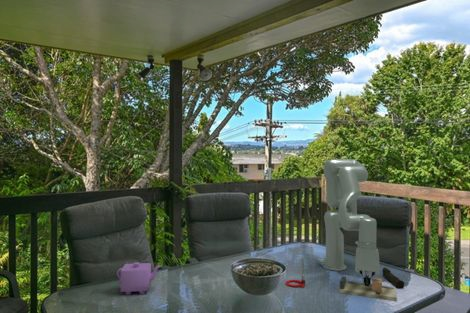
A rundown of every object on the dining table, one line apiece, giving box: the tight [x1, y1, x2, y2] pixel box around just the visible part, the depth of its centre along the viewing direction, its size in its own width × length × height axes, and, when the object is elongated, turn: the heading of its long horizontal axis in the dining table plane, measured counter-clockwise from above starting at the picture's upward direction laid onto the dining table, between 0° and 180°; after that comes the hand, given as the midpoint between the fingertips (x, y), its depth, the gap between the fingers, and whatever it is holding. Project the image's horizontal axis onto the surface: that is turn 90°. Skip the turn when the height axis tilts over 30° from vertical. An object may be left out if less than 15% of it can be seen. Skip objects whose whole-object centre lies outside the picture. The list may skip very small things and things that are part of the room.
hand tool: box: [382, 267, 405, 290], centre depth 175 cm, size 19×4×5 cm, turn 178°
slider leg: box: [371, 277, 383, 293], centre depth 159 cm, size 4×7×4 cm, turn 157°
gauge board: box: [337, 276, 398, 302], centre depth 161 cm, size 24×12×4 cm, turn 67°
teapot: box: [116, 261, 163, 295], centre depth 161 cm, size 20×10×12 cm, turn 97°
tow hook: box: [285, 257, 307, 288], centre depth 170 cm, size 8×13×9 cm
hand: (367, 285), depth 161 cm, fingers closed
